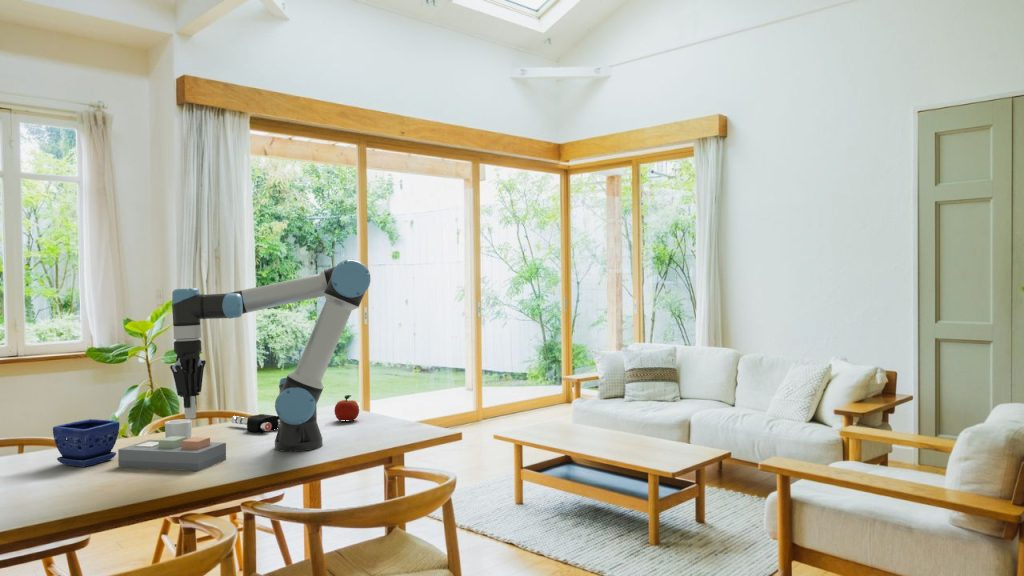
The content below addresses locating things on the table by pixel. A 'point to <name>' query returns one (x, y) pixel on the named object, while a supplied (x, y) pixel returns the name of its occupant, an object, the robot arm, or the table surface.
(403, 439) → the table surface
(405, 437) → the table surface
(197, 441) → the key terracotta
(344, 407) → the fruit
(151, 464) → the key panel
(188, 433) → the white cup
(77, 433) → the flower pot
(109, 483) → the table surface
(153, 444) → the key offwhite
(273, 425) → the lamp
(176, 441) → the key sage
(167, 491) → the table surface
